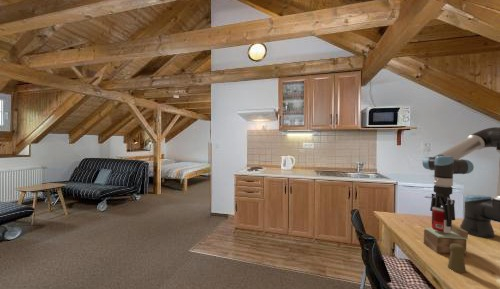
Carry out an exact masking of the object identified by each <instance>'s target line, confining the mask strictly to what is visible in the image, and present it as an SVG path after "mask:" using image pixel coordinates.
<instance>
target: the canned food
mask: <svg viewBox="0 0 500 289" xmlns="http://www.w3.org/2000/svg"><path fill="white" fill-rule="evenodd" d="M444 219H445V214H444V210H443V206H441V207H432V211H431V228H433V229H434V230H437V231H441V232H444ZM452 224H453V220H452V221H451V227H452Z"/></svg>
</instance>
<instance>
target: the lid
mask: <svg viewBox="0 0 500 289" xmlns="http://www.w3.org/2000/svg"><path fill="white" fill-rule="evenodd" d="M424 230H428V231H429V232H431V233H432V234H434V235H435V236H437V237H439V238H453V239H466V240H468V238H469V234H468V232H467V231H465V230H463V229H461V228H460V226H458V225H456V224H453V223H452V227H451V233H445V232H441V231H437V230H434V229H433V228H432V227H425V228H424Z"/></svg>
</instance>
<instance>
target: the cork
mask: <svg viewBox="0 0 500 289" xmlns="http://www.w3.org/2000/svg"><path fill="white" fill-rule="evenodd" d="M450 250H451V254H449V258H448V263H447V269H449V270H450V269H451V270H450V271H452V270H453V271H452V272H455V271H456V272H455V273H458V272H459V274H466V272H467V271H466V270H467V269H466V264H465V262H466V261H465V255H464V253H465V248H464V246H462V245H460V244H456V243H452V244H451V245H450Z"/></svg>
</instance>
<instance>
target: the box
mask: <svg viewBox="0 0 500 289" xmlns="http://www.w3.org/2000/svg"><path fill="white" fill-rule="evenodd" d="M452 243H456V244H460V245H462V246H464V248H465V253H464V256H467V239H453V238H439V237H437V236H435V235H434V234H432V233H431V232H429V231H428V230H426V229H424V230H423V244H424V245H425V246H426V247H428V248H429V249H431V250H432V251H433V252H435V253H436V254H442V255H444V254H445V255H450V254H451V250H450V245H451V244H452Z"/></svg>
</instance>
